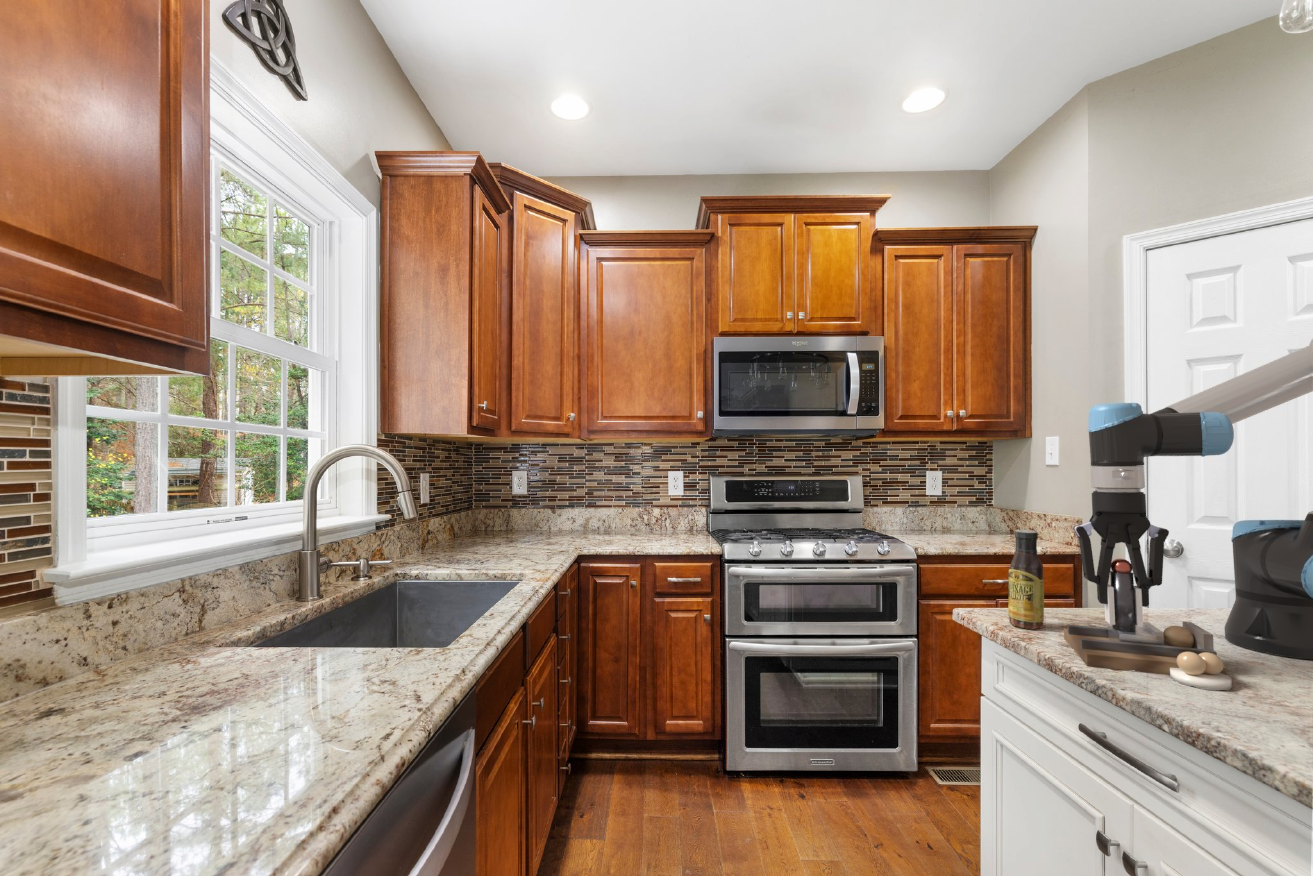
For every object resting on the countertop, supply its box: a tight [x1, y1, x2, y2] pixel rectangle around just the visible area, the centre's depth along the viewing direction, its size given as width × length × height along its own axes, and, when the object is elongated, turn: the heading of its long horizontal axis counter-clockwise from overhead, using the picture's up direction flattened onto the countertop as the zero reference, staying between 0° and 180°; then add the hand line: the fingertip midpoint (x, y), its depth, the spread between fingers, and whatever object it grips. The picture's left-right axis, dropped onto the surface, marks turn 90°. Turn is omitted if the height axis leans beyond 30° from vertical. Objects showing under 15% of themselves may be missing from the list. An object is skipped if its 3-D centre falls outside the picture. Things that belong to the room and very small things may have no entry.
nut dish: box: [1169, 652, 1233, 692], centre depth 90 cm, size 7×7×5 cm
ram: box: [1107, 558, 1164, 645], centre depth 102 cm, size 6×6×15 cm
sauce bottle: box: [1007, 529, 1045, 630], centre depth 121 cm, size 7×6×20 cm
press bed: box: [1063, 620, 1228, 676], centre depth 102 cm, size 18×16×6 cm
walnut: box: [1162, 625, 1194, 648], centre depth 99 cm, size 4×4×4 cm
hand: (1123, 623), depth 102 cm, fingers closed on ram, 3 cm apart
